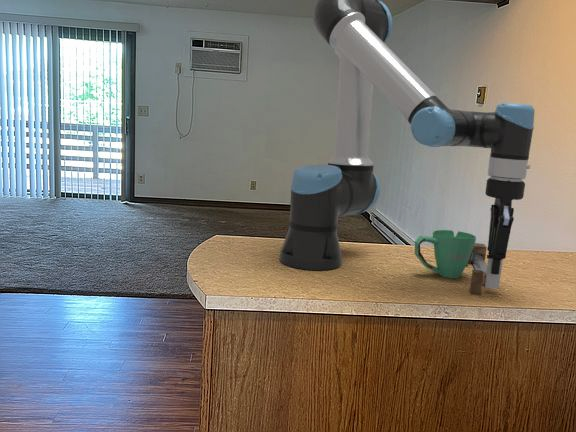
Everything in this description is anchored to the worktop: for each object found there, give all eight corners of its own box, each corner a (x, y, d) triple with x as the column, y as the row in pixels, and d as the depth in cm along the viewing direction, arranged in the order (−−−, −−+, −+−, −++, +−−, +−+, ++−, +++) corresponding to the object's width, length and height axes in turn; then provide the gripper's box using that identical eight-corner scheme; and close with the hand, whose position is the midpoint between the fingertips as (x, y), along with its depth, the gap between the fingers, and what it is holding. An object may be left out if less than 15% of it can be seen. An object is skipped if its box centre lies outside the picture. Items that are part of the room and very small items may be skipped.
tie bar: (483, 285, 127) (484, 274, 126) (469, 257, 152) (470, 249, 151) (492, 286, 126) (493, 275, 126) (476, 258, 151) (477, 249, 151)
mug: (457, 269, 140) (462, 230, 138) (479, 281, 131) (484, 239, 129) (402, 269, 137) (407, 229, 135) (421, 281, 127) (426, 238, 125)
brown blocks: (471, 294, 120) (473, 271, 119) (456, 259, 151) (458, 240, 150) (503, 298, 119) (506, 275, 118) (482, 261, 149) (484, 243, 148)
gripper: (532, 183, 111) (515, 298, 115) (518, 177, 123) (504, 280, 127) (492, 180, 112) (477, 294, 116) (483, 174, 124) (470, 276, 129)
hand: (491, 287), depth 122 cm, fingers closed
